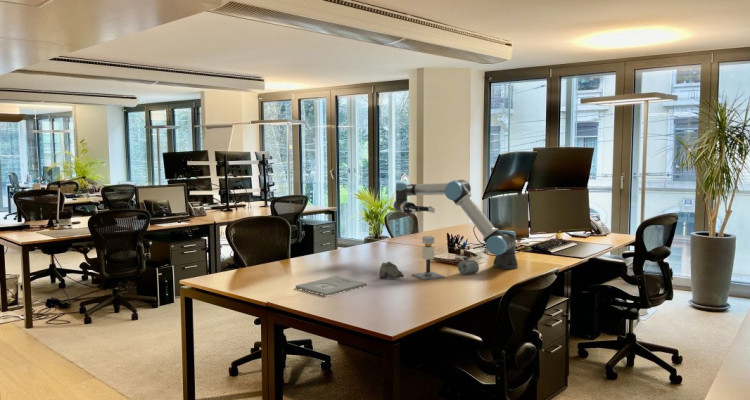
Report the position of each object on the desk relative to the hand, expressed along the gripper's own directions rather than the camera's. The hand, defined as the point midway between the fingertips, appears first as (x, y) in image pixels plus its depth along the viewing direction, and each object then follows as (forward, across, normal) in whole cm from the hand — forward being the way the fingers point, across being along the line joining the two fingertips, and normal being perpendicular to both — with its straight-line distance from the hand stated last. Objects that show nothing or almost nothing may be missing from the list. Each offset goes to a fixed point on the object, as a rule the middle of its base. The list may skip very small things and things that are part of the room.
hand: (424, 211), depth 348 cm
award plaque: (+17, +68, -37) cm, 79 cm away
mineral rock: (+14, +30, -36) cm, 49 cm away
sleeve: (+19, +8, -25) cm, 32 cm away
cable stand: (+19, +8, -36) cm, 41 cm away
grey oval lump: (+22, -17, -36) cm, 46 cm away
